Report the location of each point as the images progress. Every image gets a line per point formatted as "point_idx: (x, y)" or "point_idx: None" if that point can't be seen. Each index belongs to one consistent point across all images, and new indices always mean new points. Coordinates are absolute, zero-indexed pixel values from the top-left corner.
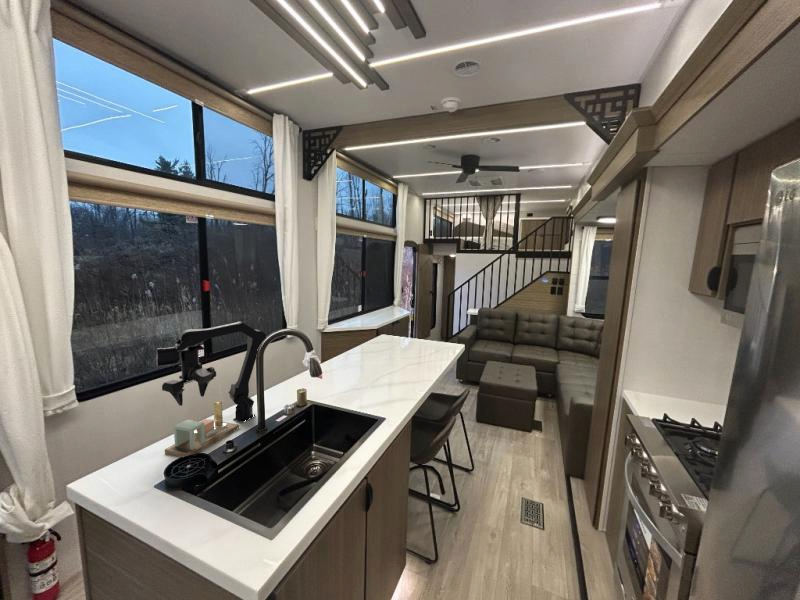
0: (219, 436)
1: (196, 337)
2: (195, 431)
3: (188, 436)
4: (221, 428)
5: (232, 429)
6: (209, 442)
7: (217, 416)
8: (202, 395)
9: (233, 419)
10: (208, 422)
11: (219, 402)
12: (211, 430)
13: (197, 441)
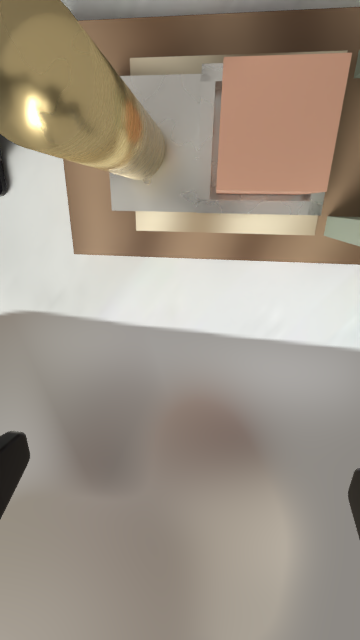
0: (250, 12)
1: None
2: (306, 202)
3: (349, 217)
4: (169, 77)
5: (118, 23)
6: (353, 8)
7: (138, 103)
8: (15, 447)
9: (2, 188)
10: (284, 70)
11: (2, 56)
12: None
13: (350, 131)
